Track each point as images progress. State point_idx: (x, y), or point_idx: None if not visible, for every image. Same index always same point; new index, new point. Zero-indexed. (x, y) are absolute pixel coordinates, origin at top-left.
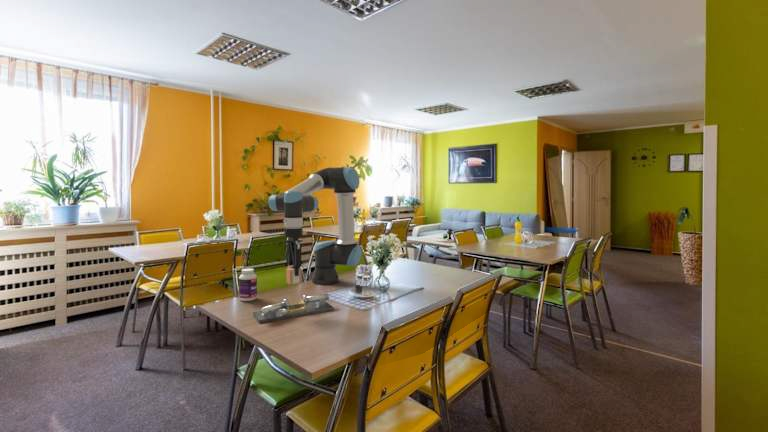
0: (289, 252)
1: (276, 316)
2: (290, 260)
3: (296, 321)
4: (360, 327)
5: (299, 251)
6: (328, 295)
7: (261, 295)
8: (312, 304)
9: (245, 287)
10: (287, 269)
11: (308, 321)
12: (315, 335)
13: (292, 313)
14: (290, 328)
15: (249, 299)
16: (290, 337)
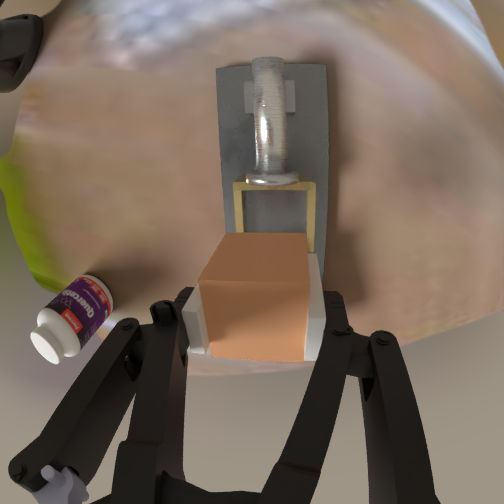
0: (180, 455)
1: (323, 290)
2: (182, 374)
3: (369, 235)
4: (497, 101)
5: (421, 480)
6: (279, 58)
7: (70, 254)
8: (245, 126)
9: (93, 331)
10: (241, 355)
11: (392, 201)
12: (480, 229)
13: (315, 233)
14: (407, 268)
15: (111, 301)
16: (452, 285)
